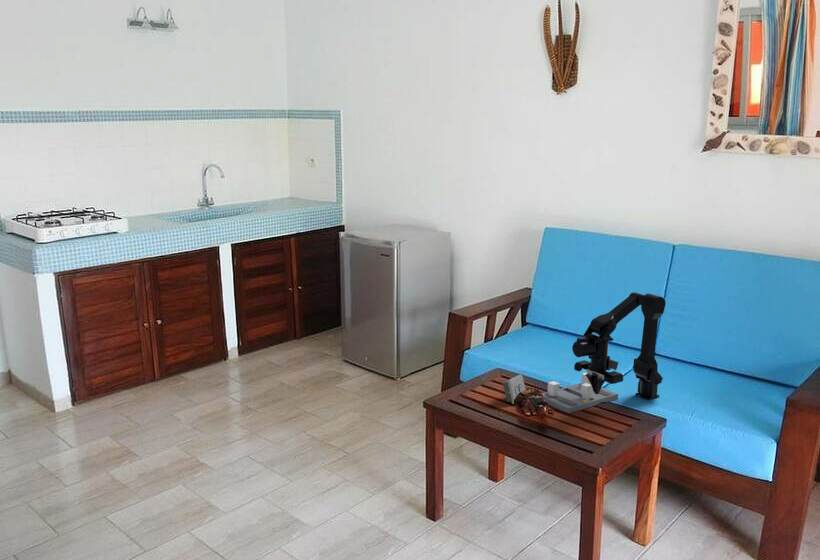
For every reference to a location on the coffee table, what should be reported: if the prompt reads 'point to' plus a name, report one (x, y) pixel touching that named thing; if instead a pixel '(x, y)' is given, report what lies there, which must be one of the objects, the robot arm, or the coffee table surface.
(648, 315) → the robot arm
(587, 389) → the breaker handle
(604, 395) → the breaker panel
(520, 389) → the electrical switch
